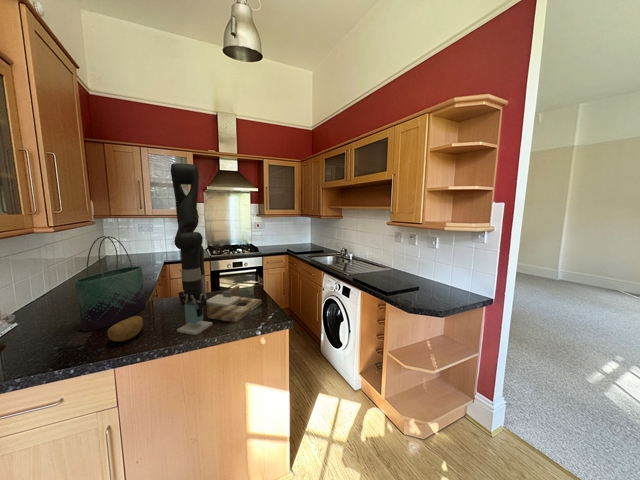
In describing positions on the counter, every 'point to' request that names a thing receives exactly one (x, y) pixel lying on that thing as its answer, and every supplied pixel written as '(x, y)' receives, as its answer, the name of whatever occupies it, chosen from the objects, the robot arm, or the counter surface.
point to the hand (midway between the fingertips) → (194, 315)
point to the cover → (223, 299)
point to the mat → (194, 327)
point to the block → (192, 313)
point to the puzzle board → (233, 308)
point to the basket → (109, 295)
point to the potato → (125, 329)
